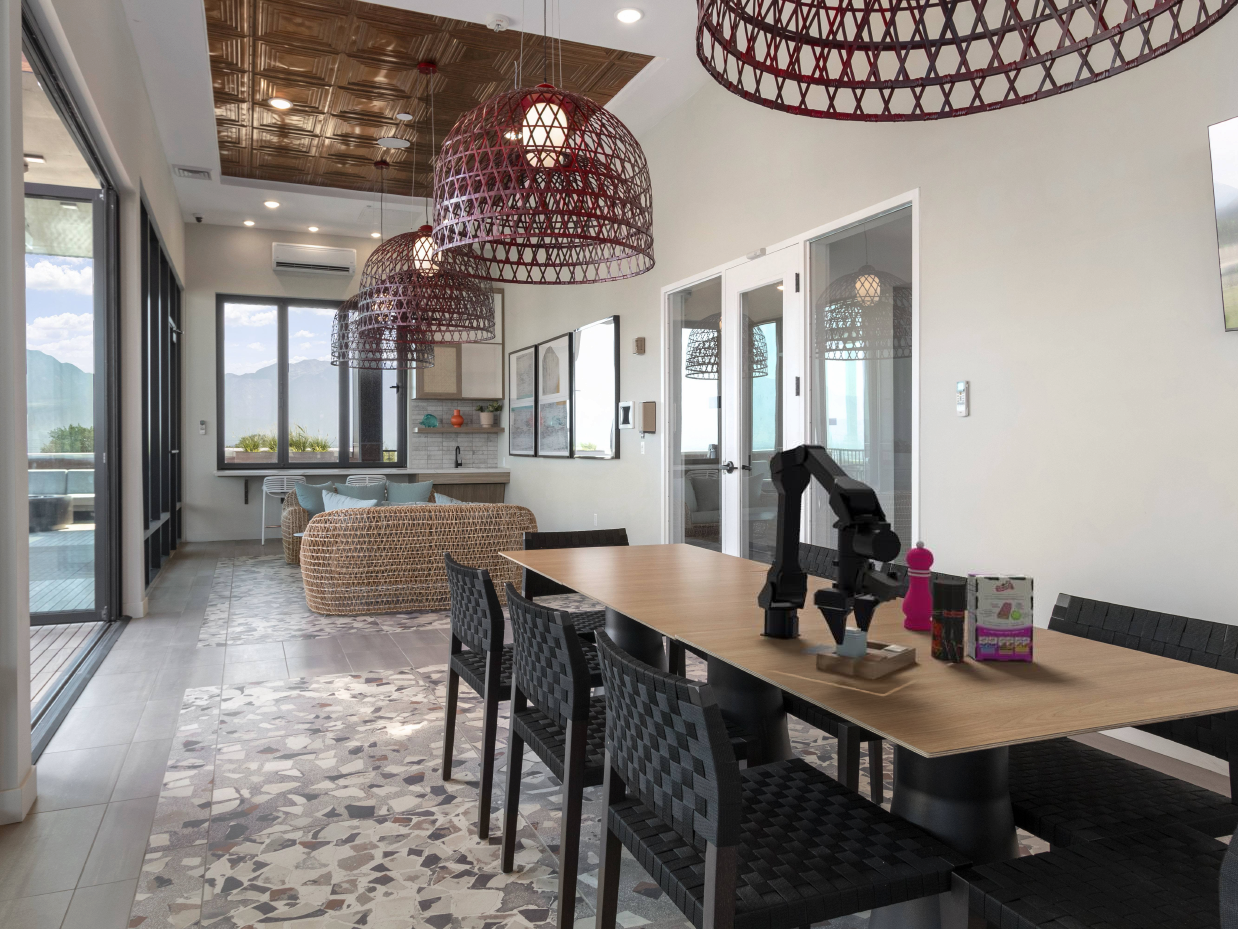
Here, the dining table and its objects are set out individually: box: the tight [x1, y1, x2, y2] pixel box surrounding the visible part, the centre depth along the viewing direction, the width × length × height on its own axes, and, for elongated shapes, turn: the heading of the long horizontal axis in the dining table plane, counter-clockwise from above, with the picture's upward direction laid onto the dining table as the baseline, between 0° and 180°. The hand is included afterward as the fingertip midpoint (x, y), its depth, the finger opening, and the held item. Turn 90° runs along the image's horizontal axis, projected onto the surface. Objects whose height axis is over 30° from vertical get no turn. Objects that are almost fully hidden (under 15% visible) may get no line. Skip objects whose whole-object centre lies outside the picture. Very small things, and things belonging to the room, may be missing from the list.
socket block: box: [815, 638, 917, 680], centre depth 154 cm, size 11×18×3 cm, turn 138°
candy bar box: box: [966, 573, 1035, 663], centre depth 163 cm, size 11×5×16 cm, turn 88°
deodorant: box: [930, 579, 967, 664], centre depth 161 cm, size 6×6×15 cm
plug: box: [835, 626, 868, 658], centre depth 152 cm, size 4×4×8 cm
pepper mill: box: [901, 540, 935, 631], centre depth 191 cm, size 7×7×20 cm
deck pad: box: [798, 644, 835, 656], centre depth 164 cm, size 9×9×1 cm
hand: (851, 640), depth 152 cm, fingers open, 9 cm apart
